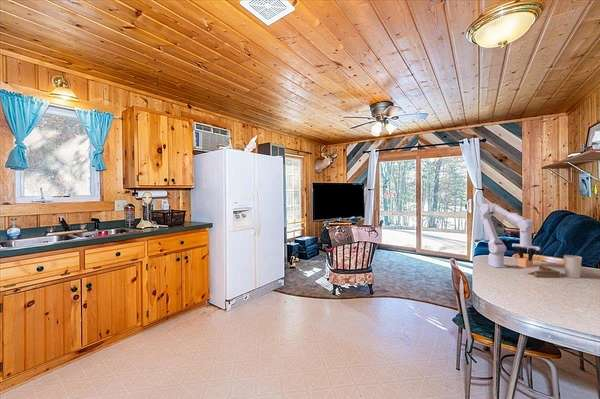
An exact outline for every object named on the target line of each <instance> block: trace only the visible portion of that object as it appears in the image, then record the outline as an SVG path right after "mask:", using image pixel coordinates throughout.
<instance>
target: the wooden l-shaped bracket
mask: <svg viewBox="0 0 600 399" xmlns="http://www.w3.org/2000/svg"><path fill="white" fill-rule="evenodd" d="M560 274H561V273H560V271H558V270H555V269H553V268H550V267H547V266H544V265H538V270H534V277H535V278H558V279H559V278H560V277H561V275H560Z"/></svg>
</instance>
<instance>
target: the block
mask: <svg viewBox="0 0 600 399" xmlns="http://www.w3.org/2000/svg"><path fill="white" fill-rule="evenodd" d="M517 261H518V264H517V265H518V267H520V268H521V267H522V268H532V267H534V259H533V258H532V261H529V260H528V257H523V258H520V257H519V258H518V260H517Z"/></svg>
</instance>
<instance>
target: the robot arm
mask: <svg viewBox="0 0 600 399" xmlns="http://www.w3.org/2000/svg"><path fill="white" fill-rule="evenodd" d="M479 211H480V218H481V222H482V224H483V226H484V229H485V231H486V234H487V237H488V239H489V241H488V243H487V245H488V251H489V254H488V257H487V258H488V263H487V265H489V266H490V267H493V268H495V269H496V268H503V269H505V268H506V269H507V268H508V266H506V265H505V252H506V251H507V246H506V245H505V244H504V242H503V240H501V239H500V238H499V236H498V233H497V231H496V228H495V225H494V223H493V221H492V220H493V219H492V216H493V215H494V214H495V213H498V214H500V215H502V216H504V217H506V218H507V220H508V221H510V222H511V223H513V224H516V225H517V226H518V228H519V243H511V244H512V245H511V247H512V248H513V247H514V248H515V250H516V252H517V253H518V255H519V256H518V257H519V258H524V253H525V252H524V251H525V249H527V250H526V251H527V258H528V260H529V261H532V259H533V257H534V254H535V253H536V252H537V251H541V246H535V245H532V244H533V243H532V237H533V236H532V235H533V234H532V233H533V232H532V229H533V227H534V224H535V223H534V221H533V220H532V219H530V218H526V217H525V216H521V215H519V213H517V212H510V211H508V210H507V209H505V208H504V207H502V206H500V204H496V203H495V202H494V203H482V204H481V206H480V208H479Z"/></svg>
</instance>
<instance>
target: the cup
mask: <svg viewBox="0 0 600 399" xmlns="http://www.w3.org/2000/svg"><path fill="white" fill-rule="evenodd" d="M582 260H583V257H582V256H578V255H572V254H564V255H563V262H564V264H563V265H564V273H565V274H564V276H566V277H569V278H575V279H580V277H581V268H582Z"/></svg>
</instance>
